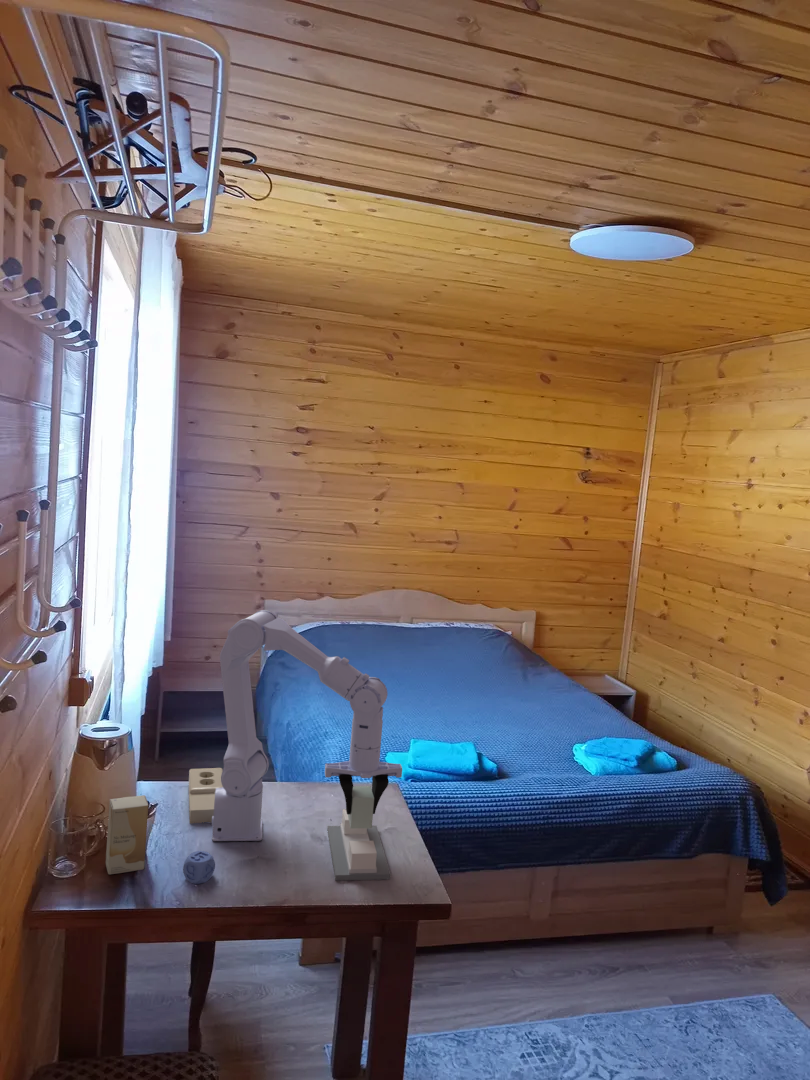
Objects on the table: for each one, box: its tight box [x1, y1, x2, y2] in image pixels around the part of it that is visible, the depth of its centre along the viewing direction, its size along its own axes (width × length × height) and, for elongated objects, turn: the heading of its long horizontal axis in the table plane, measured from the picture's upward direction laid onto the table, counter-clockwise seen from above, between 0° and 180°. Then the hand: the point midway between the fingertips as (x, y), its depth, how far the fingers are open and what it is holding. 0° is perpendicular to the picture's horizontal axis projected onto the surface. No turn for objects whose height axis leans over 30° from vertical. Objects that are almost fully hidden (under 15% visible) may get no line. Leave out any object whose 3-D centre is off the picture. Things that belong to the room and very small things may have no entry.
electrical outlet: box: [188, 767, 223, 824], centre depth 166 cm, size 7×4×18 cm
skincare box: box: [105, 795, 149, 875], centre depth 139 cm, size 6×4×12 cm
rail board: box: [327, 808, 391, 881], centre depth 150 cm, size 10×18×5 cm, turn 10°
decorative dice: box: [182, 850, 216, 885], centre depth 138 cm, size 4×4×4 cm
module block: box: [348, 785, 374, 828], centre depth 149 cm, size 4×5×6 cm
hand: (360, 811), depth 150 cm, fingers closed on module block, 4 cm apart
